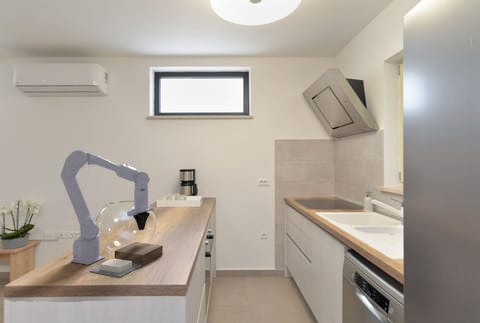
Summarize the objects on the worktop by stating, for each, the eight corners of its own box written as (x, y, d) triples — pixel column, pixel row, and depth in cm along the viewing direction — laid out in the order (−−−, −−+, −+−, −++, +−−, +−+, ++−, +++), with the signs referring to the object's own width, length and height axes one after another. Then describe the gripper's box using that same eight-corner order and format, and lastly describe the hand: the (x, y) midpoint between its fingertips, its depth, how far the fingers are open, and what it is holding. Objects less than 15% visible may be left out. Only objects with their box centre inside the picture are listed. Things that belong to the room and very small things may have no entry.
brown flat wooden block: (114, 260, 105) (114, 250, 105) (136, 251, 116) (136, 242, 116) (142, 265, 100) (142, 255, 100) (162, 255, 111) (162, 245, 111)
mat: (90, 271, 95) (90, 270, 95) (114, 261, 105) (114, 260, 105) (120, 277, 90) (120, 276, 90) (142, 265, 100) (142, 264, 100)
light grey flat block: (113, 258, 101) (113, 263, 101) (100, 264, 96) (100, 269, 96) (132, 261, 98) (132, 266, 98) (119, 267, 92) (119, 273, 92)
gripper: (136, 201, 108) (136, 234, 108) (159, 197, 122) (159, 226, 122) (123, 200, 111) (123, 233, 111) (146, 196, 124) (147, 225, 124)
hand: (141, 229), depth 116 cm, fingers closed
